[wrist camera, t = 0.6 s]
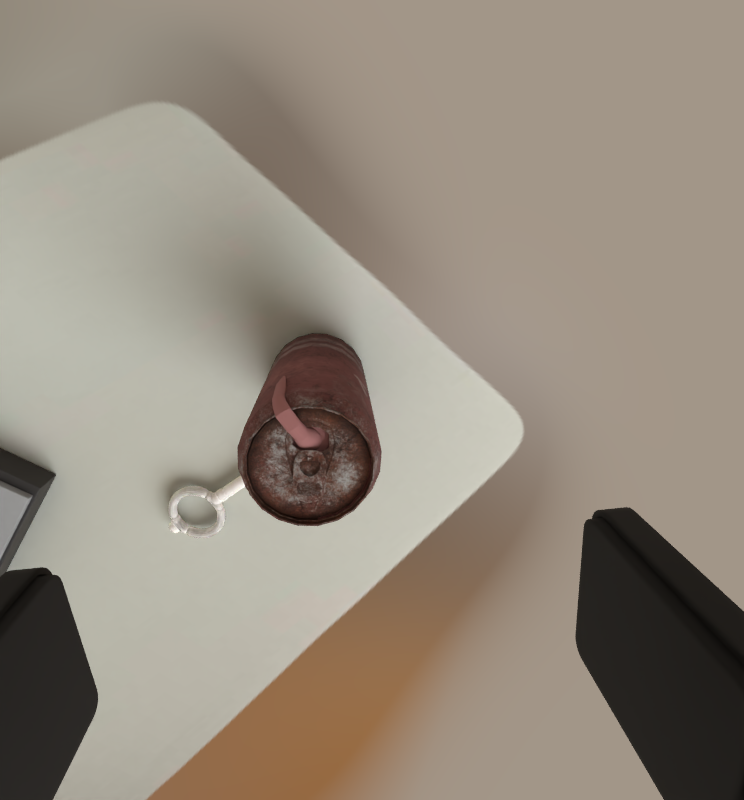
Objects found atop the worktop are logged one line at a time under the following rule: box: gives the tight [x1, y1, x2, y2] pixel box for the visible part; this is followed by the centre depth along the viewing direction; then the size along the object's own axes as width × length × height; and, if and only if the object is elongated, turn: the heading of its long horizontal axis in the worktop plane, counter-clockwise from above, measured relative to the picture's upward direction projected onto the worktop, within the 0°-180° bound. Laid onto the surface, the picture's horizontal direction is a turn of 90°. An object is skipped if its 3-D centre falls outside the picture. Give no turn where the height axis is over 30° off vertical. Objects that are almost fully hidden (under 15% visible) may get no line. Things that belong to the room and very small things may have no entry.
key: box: [168, 475, 245, 538], centre depth 35 cm, size 12×1×4 cm
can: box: [238, 333, 381, 526], centre depth 27 cm, size 6×6×14 cm
